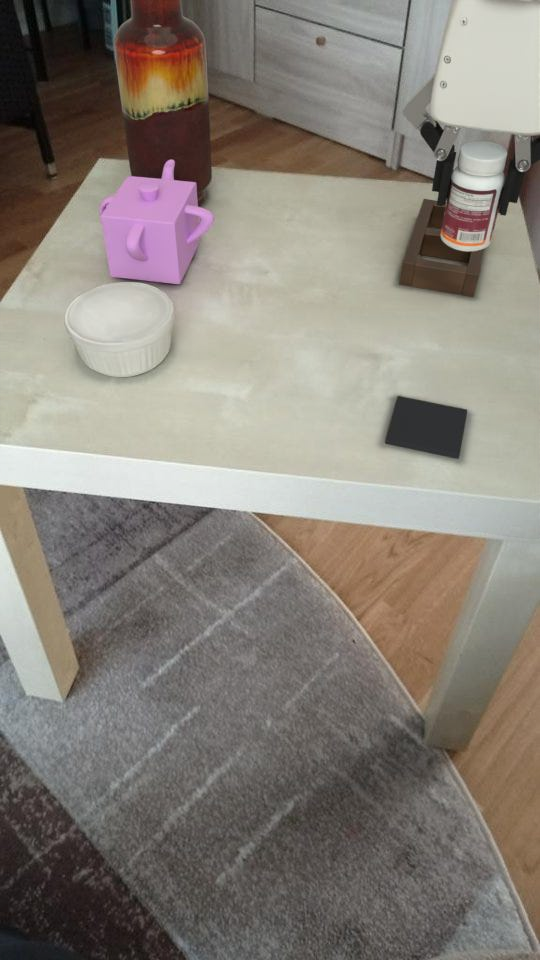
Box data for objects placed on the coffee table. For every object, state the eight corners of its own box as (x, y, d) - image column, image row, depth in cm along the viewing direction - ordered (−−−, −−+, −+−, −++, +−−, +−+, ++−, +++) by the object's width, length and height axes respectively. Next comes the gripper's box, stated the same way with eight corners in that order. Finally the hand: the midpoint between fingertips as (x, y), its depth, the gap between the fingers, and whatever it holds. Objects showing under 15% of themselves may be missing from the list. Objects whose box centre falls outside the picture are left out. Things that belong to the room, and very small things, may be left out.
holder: (487, 229, 98) (492, 208, 96) (473, 297, 87) (479, 275, 85) (419, 219, 100) (423, 198, 97) (398, 284, 89) (402, 262, 87)
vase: (122, 211, 100) (89, -13, 81) (150, 175, 107) (125, -38, 88) (199, 221, 99) (184, -5, 79) (222, 184, 106) (214, -31, 86)
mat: (466, 413, 73) (467, 409, 73) (458, 459, 69) (459, 454, 69) (397, 399, 75) (397, 395, 74) (385, 443, 70) (385, 439, 70)
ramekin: (53, 371, 77) (42, 329, 73) (105, 312, 84) (97, 272, 80) (149, 396, 75) (143, 354, 71) (194, 333, 82) (191, 293, 78)
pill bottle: (459, 222, 72) (477, 134, 65) (500, 240, 69) (523, 150, 63) (429, 239, 69) (444, 149, 63) (470, 258, 67) (491, 167, 61)
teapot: (131, 220, 98) (121, 144, 91) (232, 231, 97) (230, 154, 89) (85, 296, 86) (69, 215, 79) (200, 309, 85) (194, 228, 77)
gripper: (645, -40, 54) (571, 199, 67) (416, -56, 58) (388, 173, 71) (648, -13, 49) (567, 238, 62) (397, -33, 53) (371, 209, 66)
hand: (473, 201), depth 66 cm, fingers closed on pill bottle, 4 cm apart
